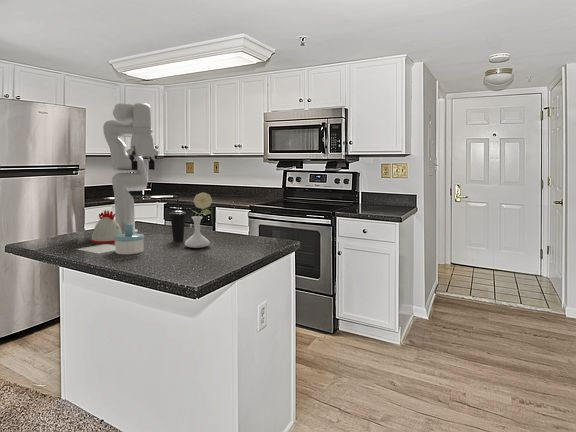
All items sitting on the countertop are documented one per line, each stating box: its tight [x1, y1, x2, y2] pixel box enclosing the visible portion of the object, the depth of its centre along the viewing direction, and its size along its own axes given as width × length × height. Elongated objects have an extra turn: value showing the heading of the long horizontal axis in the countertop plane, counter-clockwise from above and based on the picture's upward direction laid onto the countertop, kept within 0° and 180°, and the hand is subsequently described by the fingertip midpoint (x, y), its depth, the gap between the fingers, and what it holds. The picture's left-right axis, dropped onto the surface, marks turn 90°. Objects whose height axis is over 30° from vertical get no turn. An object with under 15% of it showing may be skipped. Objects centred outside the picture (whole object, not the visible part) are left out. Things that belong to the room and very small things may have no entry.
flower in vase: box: [184, 191, 213, 249], centre depth 190 cm, size 13×11×25 cm
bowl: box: [114, 239, 145, 256], centre depth 178 cm, size 11×11×6 cm
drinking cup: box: [169, 199, 187, 242], centre depth 205 cm, size 8×8×20 cm
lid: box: [114, 223, 145, 241], centre depth 178 cm, size 12×12×6 cm
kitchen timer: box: [91, 209, 122, 244], centre depth 201 cm, size 14×14×15 cm
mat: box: [76, 243, 115, 255], centre depth 183 cm, size 15×14×1 cm
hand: (143, 169), depth 194 cm, fingers open, 9 cm apart
